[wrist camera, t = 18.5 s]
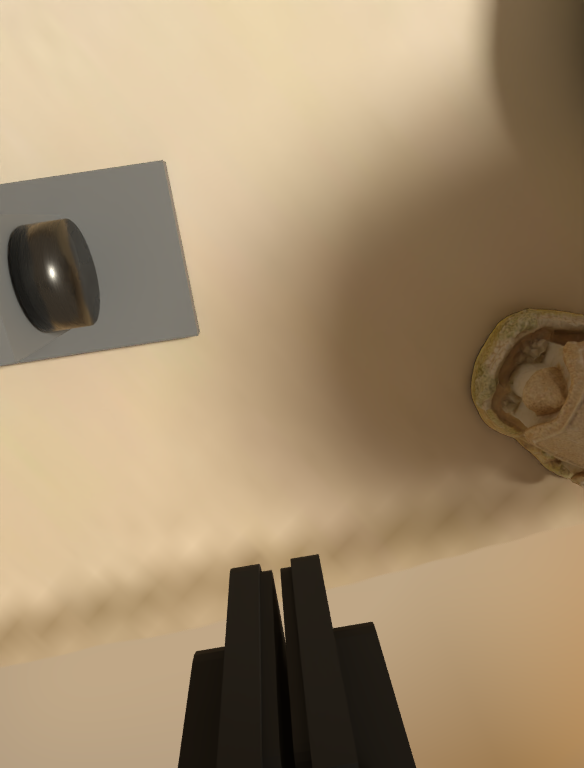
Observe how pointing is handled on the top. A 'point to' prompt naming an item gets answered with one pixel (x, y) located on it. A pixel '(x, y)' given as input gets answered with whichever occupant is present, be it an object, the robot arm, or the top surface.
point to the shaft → (55, 275)
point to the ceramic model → (536, 386)
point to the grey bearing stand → (103, 260)
